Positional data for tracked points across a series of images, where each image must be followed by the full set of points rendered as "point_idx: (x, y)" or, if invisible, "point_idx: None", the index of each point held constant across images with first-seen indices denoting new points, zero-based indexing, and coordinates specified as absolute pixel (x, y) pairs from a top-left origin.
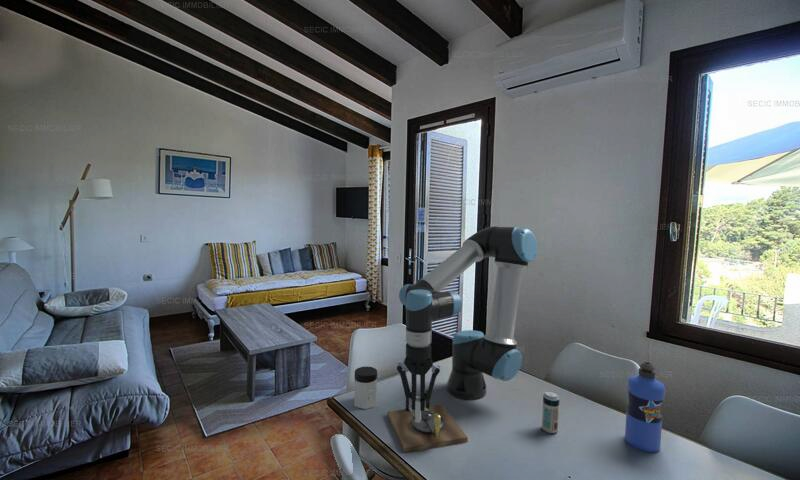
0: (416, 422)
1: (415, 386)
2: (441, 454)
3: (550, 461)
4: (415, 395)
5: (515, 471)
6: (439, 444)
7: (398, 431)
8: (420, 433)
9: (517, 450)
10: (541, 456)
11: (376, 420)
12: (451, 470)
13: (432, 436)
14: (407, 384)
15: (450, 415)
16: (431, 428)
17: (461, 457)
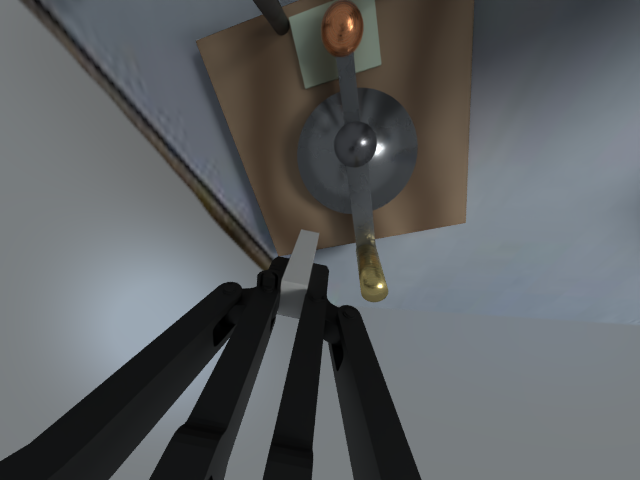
0: (312, 169)
1: (251, 388)
2: None
3: (626, 293)
4: (269, 336)
5: (511, 312)
6: None
7: (257, 188)
8: None
9: (578, 255)
10: (622, 277)
11: (175, 85)
12: None
13: None
14: (194, 363)
15: (469, 76)
16: (356, 227)
17: (413, 270)
